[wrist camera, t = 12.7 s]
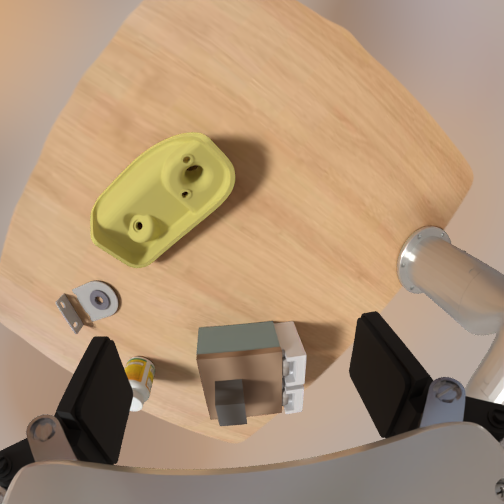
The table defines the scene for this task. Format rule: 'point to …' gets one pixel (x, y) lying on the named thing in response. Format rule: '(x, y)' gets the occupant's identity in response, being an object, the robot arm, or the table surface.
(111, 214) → the plastic component
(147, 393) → the supplement bottle
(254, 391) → the door
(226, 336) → the cabinet
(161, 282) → the table surface
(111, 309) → the bracket
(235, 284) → the table surface
